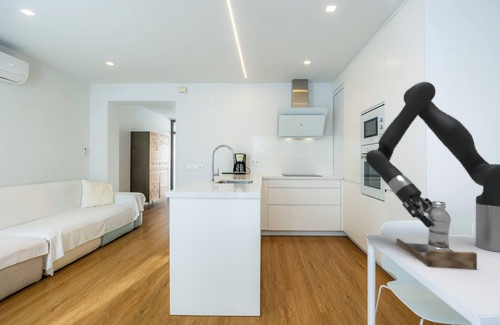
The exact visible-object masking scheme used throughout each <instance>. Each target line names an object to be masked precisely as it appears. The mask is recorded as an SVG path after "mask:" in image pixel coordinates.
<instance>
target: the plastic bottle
mask: <svg viewBox="0 0 500 325" xmlns="http://www.w3.org/2000/svg"><path fill="white" fill-rule="evenodd" d="M431 202H432V207H433V209H432V210H431V211H430V212H429V213H427V216H426V217H427V218H428V219H429V220H430V221H431V222H432V223H433V225H432V226H431V227H429V228H428V238H427V239H428V241H427V244H428V245H427V249H426V250H438V251H450V243H449V233H450V232H449V231H450V225H451V220H452V219H451V215H450V214H449V212H448V211H447V210H446V208H447V207H446V202H445V201H438V200H435V201H434V200H433V201H431Z"/></svg>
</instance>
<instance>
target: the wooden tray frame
mask: <svg viewBox="0 0 500 325" xmlns="http://www.w3.org/2000/svg"><path fill="white" fill-rule="evenodd" d="M396 245H398V246H400V247H401V248H402V249H403V250H405V251H406V252H407V253H409V254H411V255H412V256H413V257H414V258H415V259H417V260H419V261H420V262H421V263H422V264H424V265H425V266H427V267H430V268H442V269H443V268H444V269H445V268H446V269H447V268H448V269H463V270H464V269H465V270H477V269H478V267H477V266H478V254H477V253H476V252H474V251H473V252H472V251H455V250H453V249H450V251H438V250H426V249H427V245H428V243H415V242H414V243H412V242H409V243H408V242H404V241H403V240H402V239H400V238H396ZM421 252H423V253H424V252H425V253H426V254H422V253H421Z"/></svg>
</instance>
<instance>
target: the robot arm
mask: <svg viewBox="0 0 500 325" xmlns="http://www.w3.org/2000/svg"><path fill="white" fill-rule="evenodd" d="M436 91H437V90H436V87H435V85H433V84H432V83H431V82H428V81H422V82H417V83H416V84H414V85H413V86H411V87H410V88H408V89H407V90H406V91H405V92H404V94H403V102H404V106H403V107H402V109H401V110H400V112H399V113H398V114H397V116H396V117H395V118H394V119H393V120H392V121H391V123H390V124H389V125H388V126H387V128H385V130H384V132H383V134H382V135H381V136H380V138H379V140H378V148H377V149H373V150H372V149H371V150H369V151H368V152H367V153H366V155H365V161H366V163H367V164H368V165H369V166H370V167H371V168H372V169H373V170H374V171H375V173H377V174H378V175H379V177H380V178H381V179H382V180H383V181H384V182H385V184H386V185H387V186H388V187H389V189H390V190H391V192H392V193H393V194H394V195H395V196H396V197H397V199H398V200H400V201H401V203H402V206H403V208H405V210H406V211H407V212H408V214H409V215H410V216H411V217H412V218H417V219H418V220H419V221H421V223H422V224H423V225H424V226H425V227H426V228H428V229H429V227H431V226H432V225H433V223H432V222H431V221H430V220H429V219H428V218H427V216H426V214H428V213H429V212H430V211H431V210H432V209H433V207H432V201H431V199H430V198H428V197H426V198H422V197H421V195H422V191H421V190H420V189H419V188H418V187H417V186H416V185H415V183H413V182H412V181H411V180H410V179H409V178H408V177H407V176H406V175H405V174H403V172H402V171H401V170H400V169H398V167H396V166H395V165H394V164H393V163H392V162H391V161H390V160H391V159H392V156H393V154H394V151H395V149H396V147H398V144H399V143H400V142H401V140H402V138H403V137H404V136H405V134H406V133H407V131H408V129H409V128H410V127H411V125H412V124H413V122H414V120H416V118H417V117H419V118H420V119H421V120H422V121H423V123H425V125H426V126H427V127H428V128H429V130H431V132H432V133H434V135H435V136H436V137H437V139H438V140H439V141H440V142H441V143H442V144H443V145H444V146H445V148H446V149H448V151H449V152H450V153H451V155H453V157H455V158H456V160H457V161H458V162H459V163H460V164H461V166H462V168H464V170H465V172H466V173H467V174H468V175H469V177H470V178H471V180H472V181H473V182H474V183H475V184H477V185H479V186H481V187H483V188H482V193H481V194H479V195H477V196H476V197H475V244H474V245H475V246H476V247H478V248H480V249H483V250H487V251H492V252H496V253H500V163H499V164H496V163H495V164H492V163H489V162H488V161H486V160H485V159H484V158H483V156H481V155H480V153H479V152H478V150H477V149H476V144H475V140H474V138H473V135H472V134H471V132H470V131H469V130H468V128H466V126H465V125H464V124H463V123H462V122H461V121H460V120H458V119H457V118H455V117H453V116H452V115H450V114H448V113H446V112H445V111H443V110H441V109H440V108H439V107H438V106H436V104H435V103H434V102H433V99H435V98H434V97H435V96H436Z"/></svg>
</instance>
